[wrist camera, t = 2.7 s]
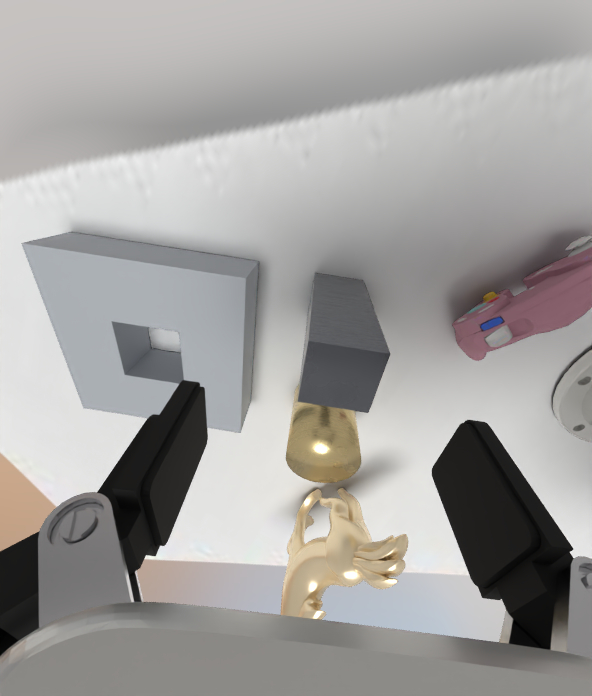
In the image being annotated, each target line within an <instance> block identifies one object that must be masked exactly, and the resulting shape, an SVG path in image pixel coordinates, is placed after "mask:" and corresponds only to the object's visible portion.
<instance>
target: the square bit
mask: <svg viewBox="0 0 592 696" xmlns="http://www.w3.org/2000/svg"><path fill="white" fill-rule="evenodd" d="M389 356H390V352H389V349H388V346H387V343H386V341H385V338H384V335H383V333H382V330H381V327H380V324H379V322H378V319H377V316H376V313H375V311H374V308H373V305H372V303H371V300H370V297H369V294H368V292H367V289H366V286H365V283H364V281H363V280H358V279H352V278H346V277H339V276H333V275H326V274H320V273H315V276H314V282H313V288H312V294H311V300H310V306H309V311H308V318H307V326H306V335H305V343H304V351H303V360H302V368H301V377H300V385H299V393H298V402H302V403H309V404H315V405H321V406H328V407H334V408H340V409H347V410H353V411H359V412H366V413H368V412H369V409H370V407H371V404H372V401H373V399H374V396H375V393H376V391H377V388H378V385H379V383H380V380H381V377H382V375H383V372H384V369H385V367H386V364H387V361H388V358H389Z"/></svg>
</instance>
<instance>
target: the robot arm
mask: <svg viewBox="0 0 592 696" xmlns="http://www.w3.org/2000/svg"><path fill="white" fill-rule="evenodd" d="M553 410H554V414H555V416H556V418H557V419H558V421H559V422H560V423H561V424H562V426H563V427H564V428H565V429H566V430H567V431H568V432H569V433H571V434H573V435H574V436H576V437H578V438H579V439H582V440H585V441H588V442H592V349H591V350H590V351H588V352H587V353H586V354H585V355H583V356H582V357H581V358H580V359H579V360H578V361H576V362H575V363H574V364H573V365H572V366H571V368H570V369H569V370H568V371H567V372H566V373H565V374H564V376H563V378H562V379H561V381H560V382H559V384H558V386H557V388H556V391H555V394H554V397H553ZM207 438H208V434H207V417H206V400H205V388H204V387H200V383H199V382H194V381H187V380H182V381H181V382H180V384H179V385H178V387H177V388H176V390H175V391H174V393H173V394H172V396H171V398H170V399H169V401H168V402H167V404H166V405H165V407H164V408H163V410H162V412H161V413H160V415H158V414H152V415H151V416H150V417H149V418H148V419H147V420H146V422H145V423H144V425H143V426H142V428H141V429H140V430H139V432H138V433H137V435H136V436H135V438H134V439H133V441H132V442H131V444H130V445H129V447H128V448H127V450H126V451H125V452H124V454H123V455H122V457H121V458H120V460H119V461H118V463H117V464H116V466H115V467H114V469H113V470H112V472H111V473H110V474H109V476H108V477H107V479H106V480H105V482H104V483H103V485H102V486H101V488H100V489H99V491H98V492H97V493H96V492H90V493H83V494H80V495H77V496H74V497H72V498H70V499H68V500H66V501H65V502H63V503H62V504H60V505H59V506H58V507H57V508H55V509H54V510H53V511H52V512H51V514H50V515H49V516H48V517H47V518H46V519H45V521H44V523H43V525H42V527H41V528H40V531H39V532H37V533H35V534H33V535H31V536H30V537H27V538H26V539H24V540H22V541H20V542H18V543H16V544H14V545H12V546H10V547H8V548H6V549H4V550H3V551H0V696H592V559H590V558H588V557H579V556H578V557H576V558H573V557H572V555H571V554H570V551H572V550H573V548H572V546H571V545H570V543H569V542H568V540H567V539H566V537H565V536H564V534H563V533H562V532H561V530H560V529H559V527H558V526H557V524H556V523H555V521H554V520H553V518H552V517H551V515H550V514H549V512H548V511H547V510H546V508H545V507H544V505H543V504H542V502H541V501H540V499H539V498H538V496H537V495H536V493H535V492H534V491H533V489H532V488H531V486H530V485H529V483H528V482H527V480H526V479H525V477H524V476H523V474H522V473H521V471H520V470H519V469H518V467H517V466H516V464H515V463H514V461H513V460H512V458H511V457H510V455H509V454H508V452H507V451H506V450H505V448H504V447H503V445H502V444H501V442H500V441H499V439H498V438H497V436H496V435H495V433H494V432H493V430H492V429H491V428H490V426H489V425H488V424H487V423H485V422H480V421H473V420H467V421H465V422H464V423H462V424H460V425H459V427H458V429H457V430H456V432H455V433H454V435H453V436H452V438H451V439H450V441H449V443H448V444H447V446H446V447H445V449H444V450H443V452H442V454H441V455H440V457H439V458H438V460H437V461H436V463H435V464H434V466H433V468H432V477H433V480H434V483H435V485H436V488H437V490H438V493H439V496H440V498H441V501H442V504H443V506H444V509H445V511H446V514H447V517H448V519H449V522H450V525H451V527H452V530H453V532H454V535H455V538H456V540H457V543H458V545H459V548H460V551H461V553H462V556H463V559H464V561H465V564H466V566H467V569H468V572H469V574H470V577H471V579H472V581H473V582H474V584H475V585H476V586H478V588H479V591H480V593H481V596H482V598H487V599H495V600H500V599H502V600H503V603H504V605H505V607H506V612H505V617H504V622H503V626H502V631H501V636H500V641H499V642H491V641H483V640H475V639H468V638H460V637H452V636H445V635H437V634H430V633H422V632H413V631H406V630H398V629H390V628H382V627H375V626H366V625H358V624H350V623H342V622H334V621H326V620H318V619H310V618H302V617H293V616H285V615H276V614H268V613H259V612H252V611H243V610H235V609H226V608H216V607H205V606H195V605H186V604H176V603H156V602H144V601H143V597H142V593H141V588H140V584H139V580H138V575H137V571H136V570H138V569H139V568H140V567H141V565H142V562H143V560H144V558H145V556H146V555H150V556H156V554H157V551H158V549H159V547H160V546H165V545H166V543H167V541H168V539H169V537H170V534H171V532H172V529H173V527H174V524H175V522H176V519H177V517H178V514H179V512H180V509H181V507H182V504H183V502H184V499H185V497H186V494H187V492H188V489H189V487H190V484H191V482H192V479H193V477H194V474H195V472H196V469H197V467H198V464H199V462H200V459H201V457H202V454H203V452H204V450H205V447H206V444H207Z"/></svg>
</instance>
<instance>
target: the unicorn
mask: <svg viewBox="0 0 592 696" xmlns="http://www.w3.org/2000/svg"><path fill="white" fill-rule="evenodd" d="M338 494H339V496H340V497H341V498H342V499H340V498H327V499H326V498H324V497H321V496H322V492H321V491H320V490H319V489H317V490H315V491H313V492H311V493H310V494H309V495H308V496H307V497H306V499H305V501H304V502H303V504H302V506H301V507H300V509H299V511H298V513H297V517H296V523H295V527H294V531H293V533H292V536H291V538H290V540H289V542H288V545H287V552H288V554H289V560H288V564H287V569H286V574H285V578H284V583H283V591H282V602H281V615H285V616H293V617H302V618H310V619H318V620H322V619H323V617H324V616H325V615H326V612H325V611H321V610H320V608H321V607H322V601H321V598H322V596H323V594H324V592H325V590H326V589H327V588H328V587H329V586H330V585H339V586H348V587H352V586H355V585H357V584H359V583H360V582H362V581H363V580H364V581H365V582H367V583H368V584H369V585H371V586H373V587H374V588H377V589H386V588H389V587H391V586H393V585H395V584H396V583H397V582H398V580H397V579H393V578H389V577H396V576H398V575H400V574H401V573H402V571H403V570H404V568H405V561H404V560H402V559H403V557H404V556H405V553H406V551H407V547H408V537H407V535H406V534H402V535H400V536H397V537H395V538H393V535H392V536H390V537H388V538H386V539H385V540H382V541H378V542H372V539H371V536H370V534H369V531H368V529H367V527H366V525H365V523H364V520H363V516H362V511H361V507H360V504H359V502H358V501H357V500H356V498H355V497H353V496H352V495H351V494H349V493H347V491H346V490H345V489H344V488H340V489H338ZM318 500H319V502H320V504H321V505H322V506H323V507H327V508H331V511H330V515H329V519H330V532H329V534H328V537H319V538H315V539H313V540H311V541H309V542H308V543H306V544H304V532H305V530H306V528H307V527H308V526H311V525H312V524H313V523H314V520H313V518H312V517H311V516H309V515H308V513H309V511H310V510H311V508H312V507H313V505H314V504H315V503H316V502H317V501H318Z"/></svg>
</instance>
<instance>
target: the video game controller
mask: <svg viewBox="0 0 592 696" xmlns="http://www.w3.org/2000/svg"><path fill="white" fill-rule="evenodd" d="M591 238H592V235H590V236H586V237H584V236H583V237H581V238H579V239H577V240H575V241H573V242H572V243H570V245H569V246H568V247H567V248H566V249H565V250H566V251H568V250H571V249H573V248H574V249H573V251H572V252H571V253H570V254H569V255H568V256H567V257H565V258H563V259H560V260H558V261H556V262H553V263H551V264H549V265H547V266H545V267H543V268H541V269H539V270H537V271H536V272H534V273H532V274H530V275H529V276H527V277H525V278H524V279H523V283H524V284H525V285H526V287H527V288H528V289H527V290H526V291H524V292H522V293H520V294H518V295H516V296H515V297H514V296H513V295H512V293H511V292H510V291H509V289H506V290H503V291H501V292H498V293H496V294H495V292H490V293H488V294H486V295H485V296H484V297H483V299H484V300H483V301H482V302H480V303H479V304H477V305H476V306H475V307H474V308H473V309H472V310H470V311H469V312H467V313H466V314H465V315H463V316H462V317H460V318H459V319H457V320H456V321H455V322H454V323H453V324H452V325H453V327H454V328H455V335H456V341H457V344H458V346H459V347H460V348H461V349H462V350H463V351H464V352H465V353H466V355H468V356H469V357H470V358H472V359H473V360H476V361H479V360H482V359H483V358H484V357H485V355H486V352H489V351H492V350H495V349H498V348H501V347H504V346H507V345H509V344H512V343H514V342H517V341H519V340H521V339H524V338H526V337H529V336H532V335H535V334H538V333H544V332H549V331H553V330H556V329H559V328H562V327H565V326H567V325H569V324H571V323H572V322H574V321H575V320H577V319H578V318H580V317H581V316H583V315H584V314H585V313H586V312H587V311H588V310H589V309H590V308H591V307H592V241H590V242H586V241H588V240H590V239H591Z"/></svg>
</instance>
